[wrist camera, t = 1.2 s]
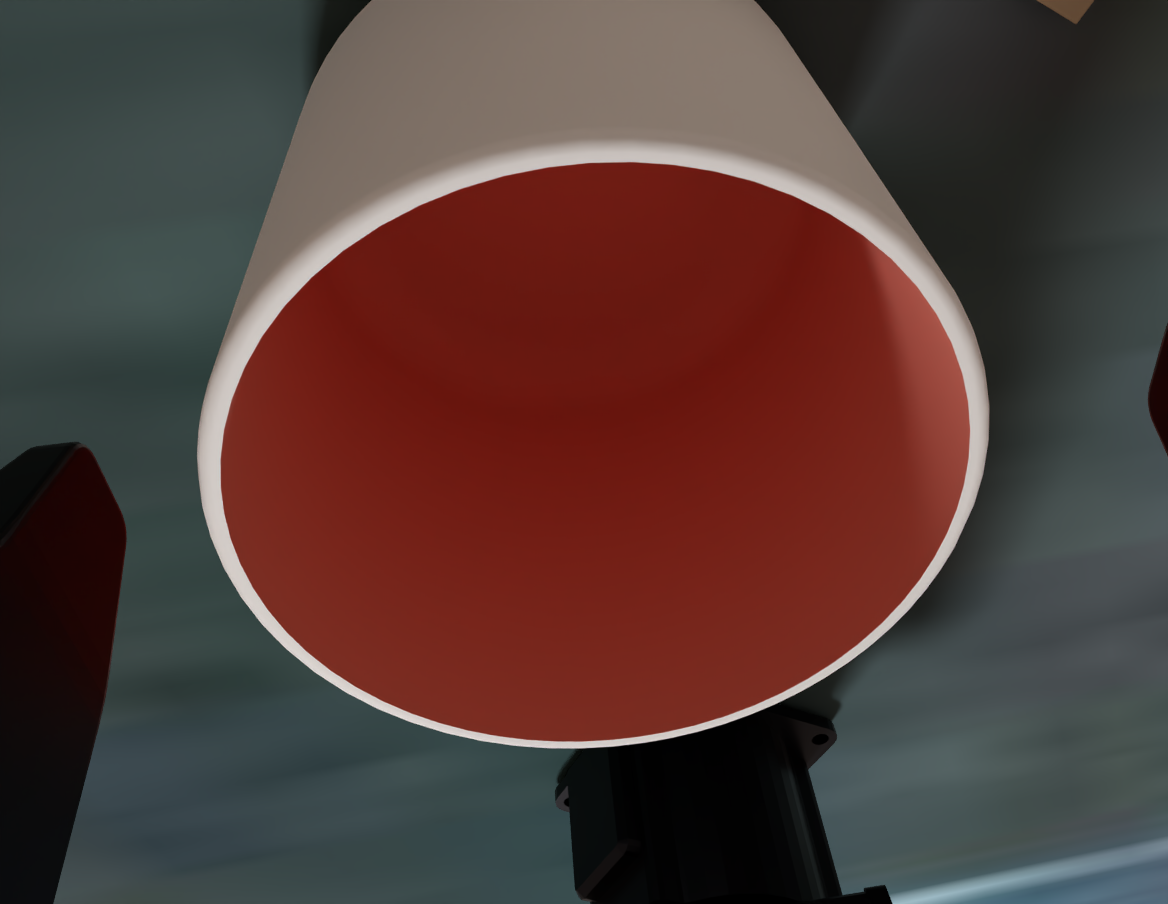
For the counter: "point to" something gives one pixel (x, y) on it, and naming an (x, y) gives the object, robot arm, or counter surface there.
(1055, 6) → the trivet
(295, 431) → the cup
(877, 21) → the counter surface
